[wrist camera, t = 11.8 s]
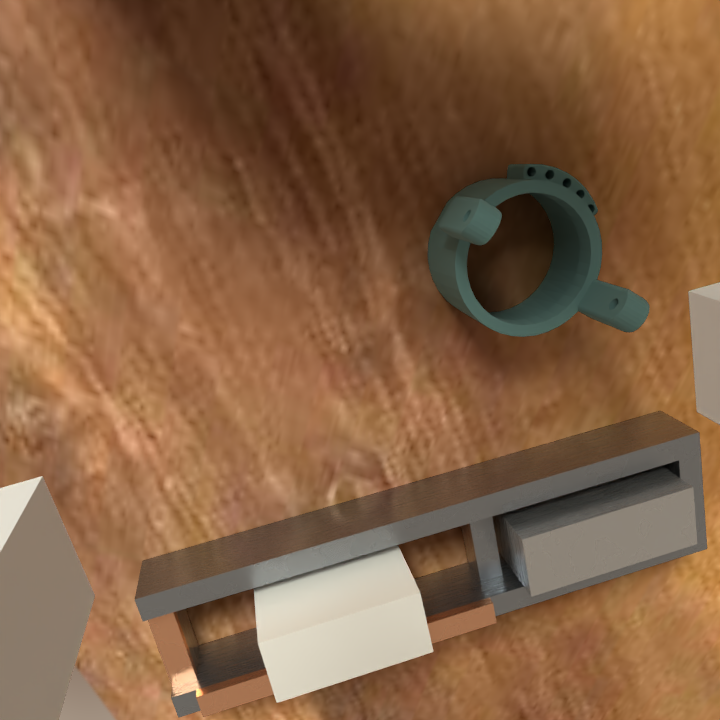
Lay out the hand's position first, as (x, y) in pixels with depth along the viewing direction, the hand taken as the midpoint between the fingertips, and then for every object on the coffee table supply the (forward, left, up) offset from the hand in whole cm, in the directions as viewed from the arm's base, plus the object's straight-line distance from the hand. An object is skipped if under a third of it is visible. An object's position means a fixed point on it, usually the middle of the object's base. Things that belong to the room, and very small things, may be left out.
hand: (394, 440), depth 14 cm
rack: (+20, +5, -27) cm, 34 cm away
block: (+20, -2, -27) cm, 34 cm away
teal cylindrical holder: (+2, +13, -27) cm, 30 cm away
